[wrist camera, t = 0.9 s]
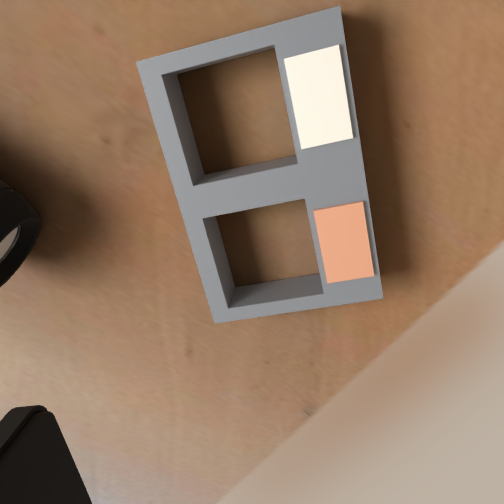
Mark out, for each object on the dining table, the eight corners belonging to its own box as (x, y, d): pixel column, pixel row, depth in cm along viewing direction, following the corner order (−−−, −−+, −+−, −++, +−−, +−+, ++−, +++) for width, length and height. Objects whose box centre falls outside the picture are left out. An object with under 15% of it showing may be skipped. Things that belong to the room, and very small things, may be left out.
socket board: (336, 12, 32) (340, 4, 28) (376, 276, 39) (383, 300, 35) (154, 62, 35) (134, 61, 31) (222, 301, 42) (213, 325, 38)
